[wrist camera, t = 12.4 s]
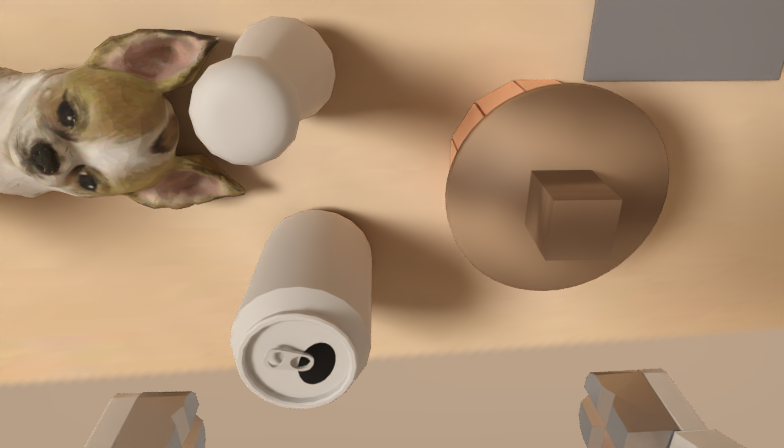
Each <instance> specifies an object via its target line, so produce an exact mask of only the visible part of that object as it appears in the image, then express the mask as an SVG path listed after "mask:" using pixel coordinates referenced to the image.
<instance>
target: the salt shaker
mask: <svg viewBox="0 0 784 448" xmlns="http://www.w3.org/2000/svg"><path fill="white" fill-rule="evenodd" d="M335 77H336V74H335V68H334V62H333V55H332V52H331V50H330V49H329V47H328V46H327V45H326V43H325V42H324V40H323V39H322V37H321V36H320V35H319V33H318V32H317V31H316V30H314V29H313V28H311V27H309V26H308V25H306V24H304V23H303V22H301V21H300V20H298V19H296V18H285V17H274V16H271V17H268V18H266V19H264V20H261V21H259V22H256V23H254V24H251V25H249V27H248V28H247V29H246V31H245V32H244V33H243V34H242V36H241V37H240V38H239V39H238V41H237V42H236V43H235V46H234V49H233V52H232V56H231V57H230V58H228V59H225V60H222V61H220V62H217V63H215V64H212V65H210V66H209V67H208V68H207V69H206V71H205V72H204V73H203V75H202V76H201V77H200V79H199V80H198V81H197V82H196V84H195V85H194V87H193V90H192V95H191V101H190V107H189V115H190V118H191V121H192V124H193V127H194V130H195V134H196V135H197V137H198V138H199V139H200V140H201V141H202V143H203V144H204V145H205V146H206V147H207V149H208V150H209V151H210V152H211V153H212V154H214V155H216V156H218V157H220V158H222V159H224V160H226V161H228V162H230V163H232V164H239V165H250V166H257V165H259V164H262V163H265V162H267V161H270V160H272V159H275V158H277V157H278V156H280V155H281V154H282V153H283V152H284V150H285V149H286V148H287V147H288V146H289V145H290V144H291V143H292V142H293V141H294V140H295V138H296V134H297V129H298V125H299V121H300V120H303V119H305V118H308V117H310V116H312V115H315V114H316V113H317V112H318V111H319V110H320V109H321V108H322V107H323V106H324V104H325V103H326V102H327V101H328V100H329V99H330V97H331V93H332V89H333V85H334V81H335Z"/></svg>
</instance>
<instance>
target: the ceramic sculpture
mask: <svg viewBox="0 0 784 448" xmlns="http://www.w3.org/2000/svg"><path fill="white" fill-rule="evenodd" d="M219 43H220V38H219V37H217V36H209V35H202V34H197V33H194V32H191V31H182V30H166V29H138V30H136V31H133V32H131V33H127V34H123V35H119V36H111V37H109V38H108V39H107V40H105V41H104V42H103V43H102V44H100V45H99V46H98V47H97V48H95V49H94V51H93V52H92V54H91V56H90V58H89V59H88V60H87V61H86V62H85V63H84V64H83V65H82V66H81V67H79V68H75V69H64V68H60V69H55V70H40V71H39V72H37V73H21V72H18V71H15V70H11V69H8V68H1V67H0V193H4V194H13V195H21V196H24V197H27V198H34V197H38V196H40V195H43V194H45V193H46V192H52V191H60V192H63V193H67V194H70V195H73V196H81V197H89V198H91V197H97V196H114V195H126V196H128V197H129V198H131V199H133V200H134V201H136V202H137V203H139V204H142V205H145V206H148V207H151V208H154V209H156V208H172V209H182V208H186V207H190V206H192V205H194V204H201V203H205V202H209V201H212V200H215V199H219V198H223V197H226V196H240V195H244V194H245V189H244V188H243V187H242V186H241V185H240V184H238V183H237V182H236V181H234V180H233V179H231V178H230V177H229V176H228V175H227V174H226V173H225V172H224V171H223V170H221V169H220V168H219V167H218V166H217V165H216V164H214V163H213V162H212V161H211V160H210V159H209V158H207V157H205V156H202V155H200V154H189V155H183V156H179V157H178V156H175V149H176V147H177V144H178V141H179V123H178V119H177V117H176V115H175V112H174V110H173V108H172V105H171V104H170V102H169V101H168V100H167V99H166V98H165V97H164V96H163V95H162V94H164V93H166V92H171V91H173V90H175V89H177V88H180V87H183V86H186V85H187V84H189V83H190V82H192V81H193V80H194V79H195V77H196V75H197V74H198V72H199V70H200V68H201V67H202V65H203V64H204V62H205V60H206V59H207V57H208V55H209V54H210V53H211V52H212V51H213V50H214V49H215V48H216V47H217V46H218V45H219Z"/></svg>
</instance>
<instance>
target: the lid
mask: <svg viewBox="0 0 784 448" xmlns="http://www.w3.org/2000/svg"><path fill="white" fill-rule="evenodd" d="M668 182H669V166H668V157H667V153H666V150H665V146H664V143H663V141H662V138H661V136H660V134H659V132H658V130H657V129H656V127H655V126H654V124H653V123H652V121H651V120H650V119H649V118H648V117H647V116H646V115H645V114H644V112H643V111H642V110H640V109H639V108H638V107H636V106H635V105H634V104H633V103H631V102H630V101H628V100H626V99H624V98H622V97H621V96H619V95H617V94H615V93H613V92H611V91H608V90H606V89H603V88H600V87H597V86H592V85H587V84H579V83H560V84H551V85H546V86H541V87H537V88H534V89H531V90H528V91H525V92H522V93H520V94H518V95H516V96H514V97H512V98H510V99H508V100H506V101H504V102H503V103H501V104H500V105H498V106H497V107H495V108H494V109H493V110H491V111H490V112H489V113H488V114H487V115H485V116H484V117H483V118H482V119H481V120H480V121H479V122H478V123H477V124H476V125H475V126H474V127H473V128H472V130H471V131H470V132H469V134H468V135H467V136H466V138H465V139H464V140H463V142H462V144H461V145H460V147H459V149H458V151H457V152H456V154H455V157H454V159H453V162H452V164H451V167H450V170H449V174H448V178H447V184H446V193H445V196H446V211H447V217H448V221H449V225H450V228H451V231H452V234H453V237H454V239H455V241H456V243H457V245H458V247H459V248H460V250H461V251H462V253H463V254H464V256H465V257H466V258H467V259H468V260H469V261H470V262H471V263H472V264H473V266H474V267H476V268H477V269H478V270H480V271H481V272H482V273H483V274H485V275H487V276H488V277H490V278H492V279H493V280H495V281H498V282H500V283H502V284H505V285H508V286H511V287H515V288H519V289H525V290H535V291H548V290H559V289H564V288H570V287H573V286H577V285H580V284H583V283H586V282H588V281H591V280H593V279H596V278H598V277H600V276H601V275H603V274H605V273H607V272H609V271H610V270H612V269H613V268H615V267H616V266H618V265H619V264H621V263H622V262H623V261H624V260H625V259H627V258H628V257H629V256H630V255H631V254H632V253H633V252H634V251H635V250H636V249H637V248H638V247H639V246H640V245H641V244H642V242H643V241H644V240H645V238H646V237H647V236H648V235H649V233H650V232H651V230H652V228H653V227H654V225H655V223H656V222H657V219H658V217H659V215H660V213H661V211H662V208H663V205H664V202H665V199H666V194H667V189H668Z"/></svg>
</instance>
